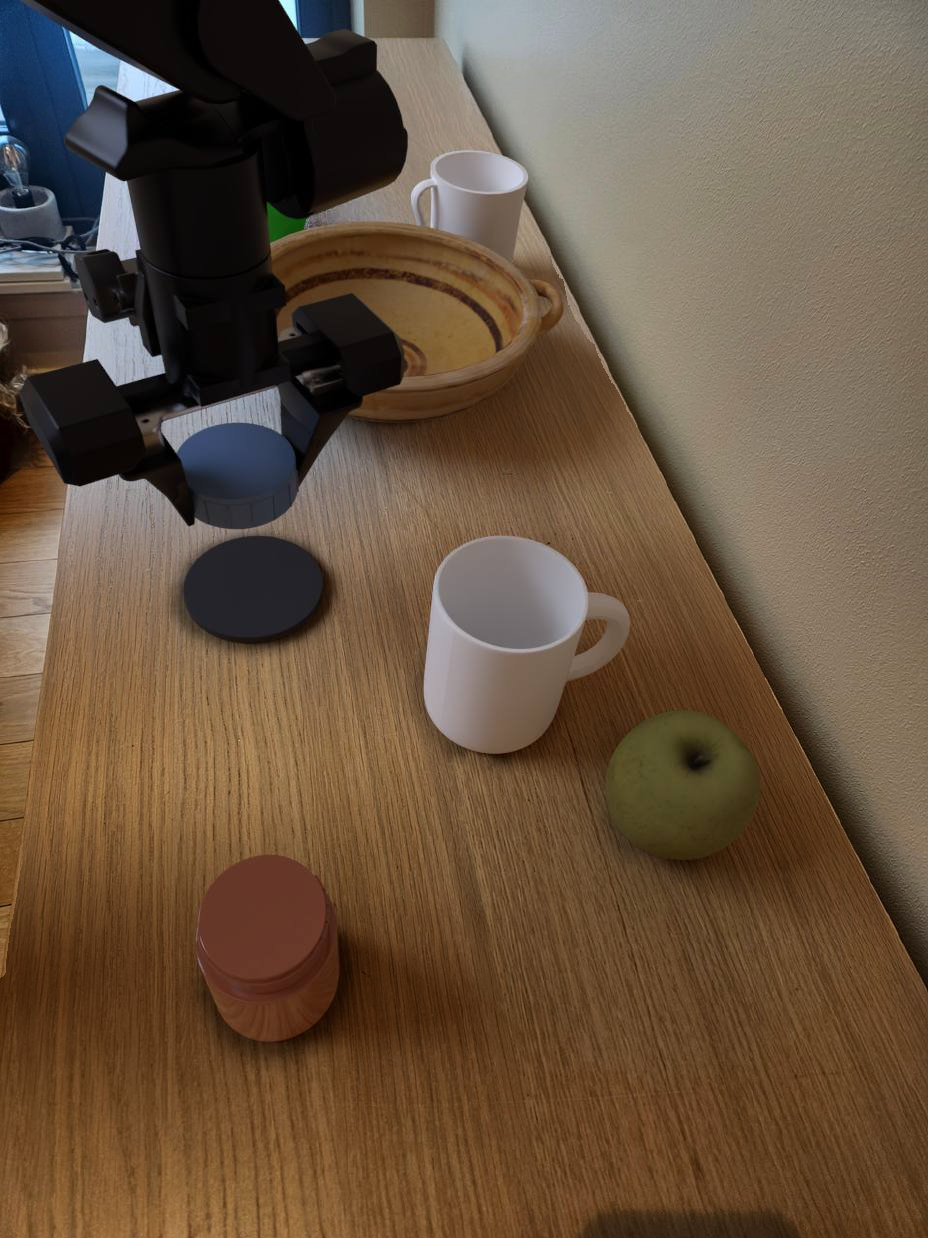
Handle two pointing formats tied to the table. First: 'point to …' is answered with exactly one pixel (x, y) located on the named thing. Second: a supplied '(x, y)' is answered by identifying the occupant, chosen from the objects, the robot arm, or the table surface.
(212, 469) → the jar lid
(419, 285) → the ceramic bowl
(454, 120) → the table surface
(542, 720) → the mug
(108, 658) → the table surface
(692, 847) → the apple
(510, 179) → the mug
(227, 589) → the coaster
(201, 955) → the jar
